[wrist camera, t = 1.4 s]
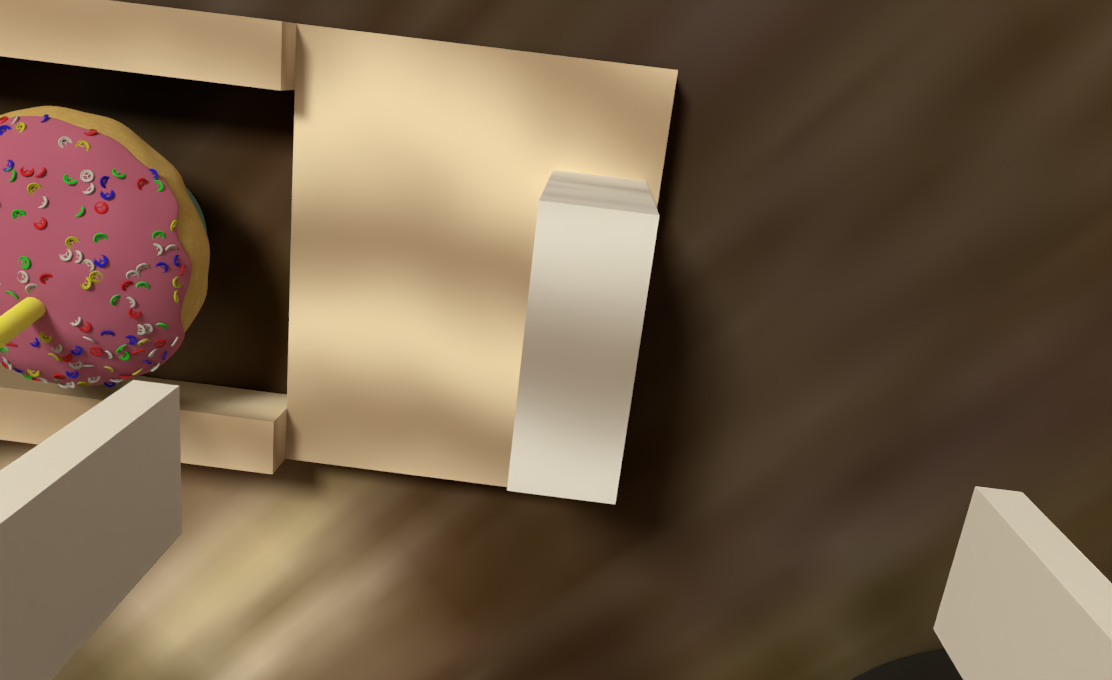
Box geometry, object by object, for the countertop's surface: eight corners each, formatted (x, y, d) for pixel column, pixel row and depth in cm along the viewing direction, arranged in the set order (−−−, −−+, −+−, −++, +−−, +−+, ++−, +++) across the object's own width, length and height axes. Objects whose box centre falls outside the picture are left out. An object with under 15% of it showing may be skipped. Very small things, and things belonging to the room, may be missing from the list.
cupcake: (294, 303, 32) (120, 435, 20) (90, 371, 33) (-185, 532, 21) (192, 68, 29) (-69, 66, 18) (-24, 149, 30) (-400, 197, 19)
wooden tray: (612, 485, 33) (616, 615, 25) (-69, 398, 33) (-277, 500, 25) (674, 70, 28) (703, 70, 20) (-114, -26, 29) (-383, -63, 21)
